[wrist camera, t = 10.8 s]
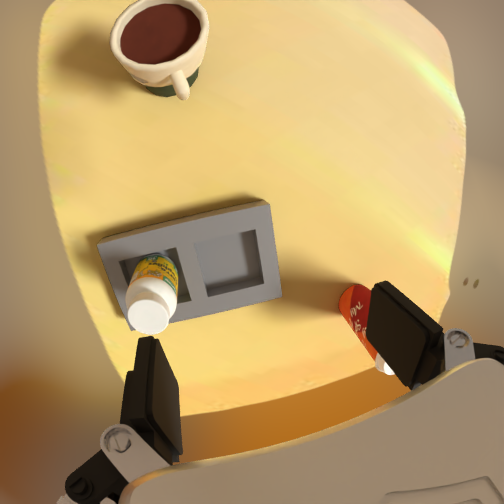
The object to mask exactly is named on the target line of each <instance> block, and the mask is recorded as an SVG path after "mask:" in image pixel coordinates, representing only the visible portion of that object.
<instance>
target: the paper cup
mask: <svg viewBox="0 0 504 504" xmlns="http://www.w3.org/2000/svg"><path fill="white" fill-rule="evenodd" d="M370 297H371V290H370V289H368V288H367V287H365V286H363V285H359V284H358V285H353V286H351V287H349V288H348V289H347V290H346V291H345V292H344V293H343V294H342V296H341V298H340V300H339V310H340V312H341V313H342V315H343V316H344V318H345V319H346V321H347V322H348V324H349V325H350V327H351V328H352V329H353V331H354V332H355V334H356V335H357V336H358V338H359V339H360V341H361V342H362V344H363V345H364V346H365V348H366V349H367V351H368V352H369V354H370V355H371V357H372V358H373V359H374V361H375V366H376V368H377V369H378V370H379V371H382V372H384V373H386V374H388V375H392V374H395V373H394V372H393V371H392V369H391V368H390V367H389V366H388V365H387V363H386V362H385V361H384V360H383V358H382V357H381V356H380V355H379V353H378V352H377V351H376V350H375V349H374V347H373V346H372V345H371V344H370V342H369V341H368V340H367V338H366V326H367V320H368V313H369V305H370Z"/></svg>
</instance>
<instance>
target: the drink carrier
mask: <svg viewBox="0 0 504 504" xmlns="http://www.w3.org/2000/svg"><path fill="white" fill-rule="evenodd" d="M97 247H98V250H99V253H100V256H101V259H102V262H103V265H104V267H105V270H106V273H107V275H108V278H109V281H110V283H111V286H112V288H113V291H114V293H115V296H116V298H117V300H118V303H119V305H120V307H121V310H122V312H123V314H124V316H125V319H126V321H127V323H128V325H129V327H130V330H131V331H133V330H136V329H134V328H133V327H132V325H131V324H130V322H129V320H128V315H127V314H128V308H127V306H126V292H127V289H128V287H129V284H130V281H131V279H132V276H133V273H134V271H135V268H136V266H137V264H138V262H139V261H140V260H141V259H142V258H143V257H145V256H147V255H152V254H161V255H164V256H166V257H168V258H169V259H171V260H172V261H173V262H174V264H175V265H176V267H177V271H178V290H177V306H176V310H175V312H174V314H173V315H172V317H171V318H170V319H169V323H174V322H178V321H183V320H188V319H192V318H197V317H202V316H206V315H210V314H215V313H219V312H223V311H228V310H232V309H236V308H240V307H244V306H248V305H252V304H256V303H260V302H264V301H268V300H272V299H276V298H280V297H282V290H281V282H280V275H279V267H278V260H277V252H276V245H275V238H274V230H273V223H272V216H271V209H270V204H269V203H268V202H266V201H265V200H261V201H256V202H251V203H246V204H241V205H236V206H232V207H227V208H222V209H218V210H213V211H209V212H204V213H200V214H195V215H191V216H187V217H183V218H178V219H174V220H170V221H166V222H162V223H158V224H154V225H150V226H146V227H142V228H138V229H134V230H130V231H127V232H123V233H119V234H116V235H112V236H108V237H105V238H102V239H101V241H100V242H99V243H98V244H97ZM169 323H168V324H169Z"/></svg>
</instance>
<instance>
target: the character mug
mask: <svg viewBox="0 0 504 504" xmlns="http://www.w3.org/2000/svg"><path fill="white" fill-rule="evenodd" d="M208 32H209V22H208V16H207V11H206V10H205V9H204V8H203V6H202V5H201V4H200V3H199V2H198V1H197V0H138V1H136V2H134V3H133V4H131V5H129V6H128V7H127V8H126V9H125V10H124V11H123V12H122V14H121V15H120V16H119V17H118V18H117V19H116V21H115V24H114V26H113V28H112V30H111V33H110V47H111V50H112V52H113V54H114V56H115V57H116V59H117V60H118V61H119V62H120V63H121V64H122V65H123V67H124V68H125V69H126V70H127V71H128V72H129V74H130V75H131V76H132V78H133V79H134V80H136V81H137V82H139V83H141V84H143V85H145V86H146V88H147V89H148V90H149V91H151V92H152V93H154V94H155V95H159V96H164V97H170V96H174V95H177V97H178V98H179V99H181V100H186V99H187V98H188V97H189V95H190V87H191V86H192V84H193V83H194V81H195V80H196V78H197V77H198V68H199V66H200V64H201V63H202V60H203V57H204V54H205V50H206V44H207V38H208Z"/></svg>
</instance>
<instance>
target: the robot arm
mask: <svg viewBox="0 0 504 504" xmlns="http://www.w3.org/2000/svg"><path fill="white" fill-rule="evenodd" d="M442 331H443V328H442V327H441V326H440V325H439V324H438V323H437V322H435V321H434V320H433V319H432V318H431V317H430V316H429V315H427V314H426V313H425V312H424V311H423V310H422V309H421V308H419V307H418V306H417V305H416V304H415V303H413V302H412V301H411V300H410V299H409V298H408V297H406V296H405V295H404V294H403V293H402V292H400V291H399V290H398V289H397V288H396V287H394V286H393V285H392V284H391V283H389V282H388V281H383V282H380V283H376V284H375V285H374V288H372V290H371V297H370V305H369V313H368V320H367V326H366V338H367V340H368V341H369V342H370V344H371V345H372V346H373V347H374V349H375V350H376V351H377V352H378V353H379V355H380V356H381V357H382V358H383V360H384V361H385V362H386V363H387V365H388V366H389V367H390V368H391V369H392V371H393V372H394V373H395V374H396V376H397V377H398V378H399V379H400V381H401V382H402V383H403V384H404V385H405V386H408V387H409V388H410V390H411V391H410V392H408V393H406V394H405V395H403V396H401V397H399V398H397V399H395V400H393V401H391V402H389V403H387V404H385V405H383V406H380V407H379V408H376V409H374V410H372V411H369V412H367V413H365V414H363V415H360V416H358V417H356V418H353V419H351V420H348V421H346V422H344V423H341V424H338V425H335V426H333V427H330V428H327V429H325V430H322V431H319V432H316V433H313V434H310V435H307V436H304V437H301V438H297V439H294V440H291V441H287V442H284V443H280V444H276V445H273V446H269V447H265V448H261V449H256V450H252V451H247V452H243V453H238V454H233V455H228V456H223V457H217V458H211V459H205V460H199V461H193V462H187V463H181V464H177V465H173V464H172V463H173V462H179V455H182V454H183V448H182V437H181V424H180V423H181V422H180V405H179V387H178V383H177V380H176V378H175V376H174V374H173V371H172V369H171V367H170V365H169V362H168V360H167V358H166V356H165V353H164V351H163V349H162V346H161V344H160V341H159V339H154V337H153V336H148V337H142V338H139V339H138V345H137V351H136V357H135V363H134V370H133V371H128V372H127V375H126V380H125V387H124V394H123V401H122V409H121V418H120V424H116V425H112V426H110V427H108V428H107V429H106V430H105V431H104V432H103V434H102V435H101V439H100V445H101V448H102V449H101V450H100V451H99V452H97V453H96V454H95V455H94V456H93V457H92V458H90V459H89V460H88V461H86V462H85V463H84V464H83V465H82V466H80V467H79V468H78V469H76V470H75V471H74V472H73V473H71V474H70V476H68V478H67V480H66V482H65V490H66V495H65V496H64V497H63V496H61V497H60V499H59V500H58V502H57V503H56V504H504V348H503V347H501V346H495V345H487V344H480V343H473V341H472V338H471V336H470V335H469V334H468V333H467V332H466V331H464V330H462V329H457V328H455V329H450V330H448V331H447V332H446V333H445V334H444V333H443V332H442ZM421 384H422V385H421Z"/></svg>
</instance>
